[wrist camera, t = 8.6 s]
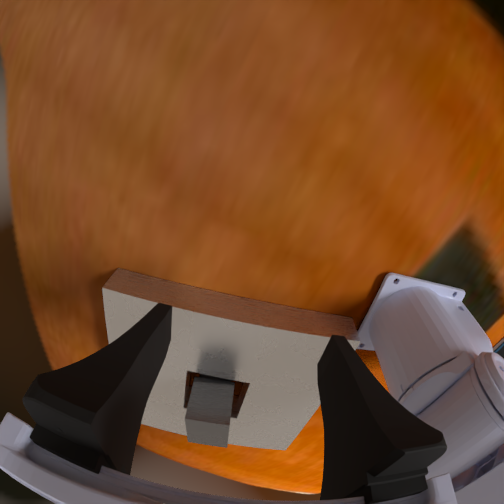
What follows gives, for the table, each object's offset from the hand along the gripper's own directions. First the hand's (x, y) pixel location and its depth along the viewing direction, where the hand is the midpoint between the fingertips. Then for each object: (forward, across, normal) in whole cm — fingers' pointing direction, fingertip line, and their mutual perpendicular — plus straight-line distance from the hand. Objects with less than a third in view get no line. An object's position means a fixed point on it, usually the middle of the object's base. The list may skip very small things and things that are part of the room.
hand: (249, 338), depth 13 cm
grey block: (+9, +1, +14) cm, 17 cm away
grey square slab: (+9, +1, +14) cm, 17 cm away
